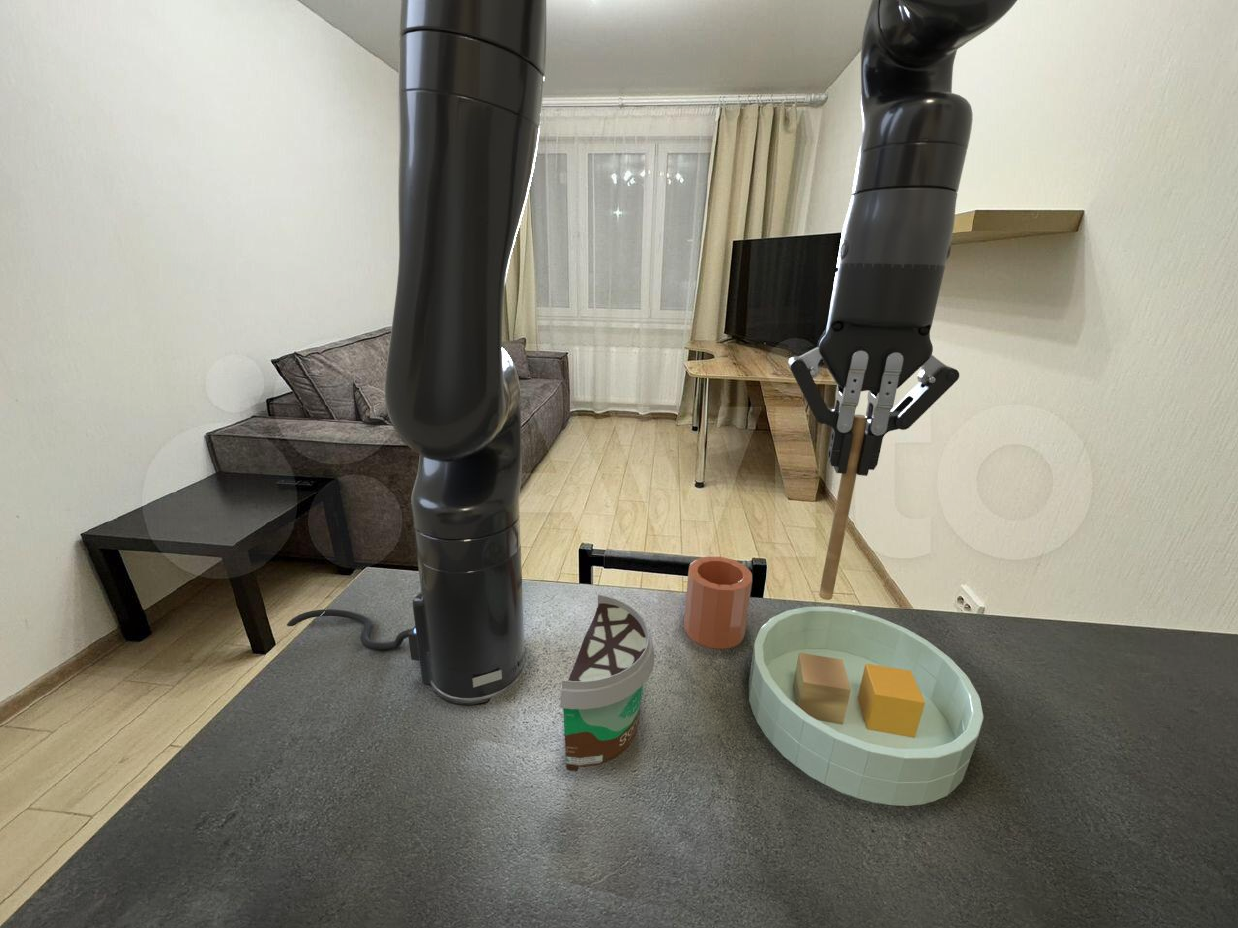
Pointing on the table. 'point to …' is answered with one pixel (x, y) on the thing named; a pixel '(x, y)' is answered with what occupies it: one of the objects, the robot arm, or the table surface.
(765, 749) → the table surface
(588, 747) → the food container
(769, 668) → the bowl
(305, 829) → the table surface
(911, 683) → the mustard block
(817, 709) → the pine block
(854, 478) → the stirring stick
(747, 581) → the cup
